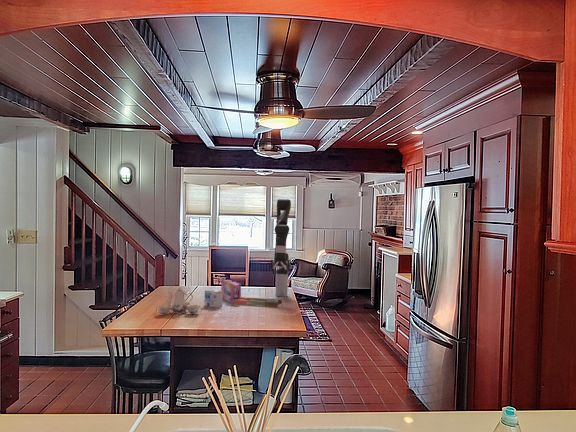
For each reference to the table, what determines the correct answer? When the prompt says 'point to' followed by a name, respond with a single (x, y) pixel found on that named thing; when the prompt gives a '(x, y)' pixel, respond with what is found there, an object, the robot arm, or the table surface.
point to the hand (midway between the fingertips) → (279, 274)
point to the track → (262, 303)
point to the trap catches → (242, 300)
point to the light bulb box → (213, 298)
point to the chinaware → (178, 304)
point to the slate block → (272, 299)
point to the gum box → (230, 290)
